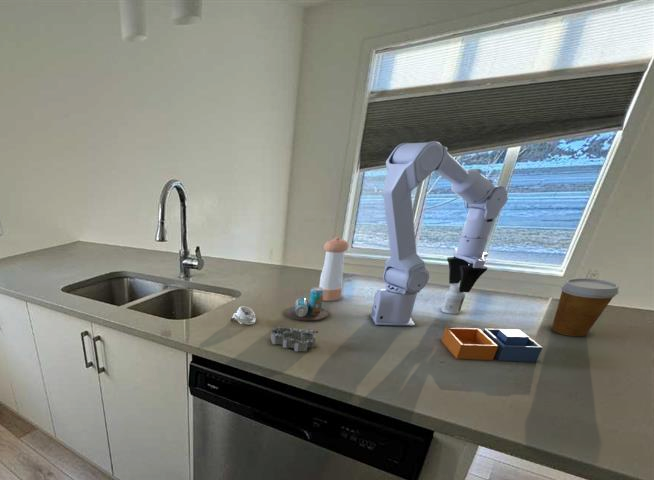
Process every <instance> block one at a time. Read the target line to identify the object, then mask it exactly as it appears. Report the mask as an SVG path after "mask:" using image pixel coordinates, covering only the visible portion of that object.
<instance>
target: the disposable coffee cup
mask: <svg viewBox="0 0 654 480" xmlns="http://www.w3.org/2000/svg"><path fill="white" fill-rule="evenodd" d="M619 287H620V286H619V284H618V283H616V282H614V281H613V282H612V281H608V280H605V279H598V278H587V277H586V278H585V277H576V278H575V277H573V278H568V279H567V280H566V281H565V282H564V283H563V284H561V286H560V288H561V293H560V297H559V301H558V303H557V308H556V311H555V315H554V319H553V322H552V326H551V331H553V332H555V333H557V334H559V335H564V336H568V337H569V336H570V337H584V336H587V335H588V333H590V330H591V329H592V328H593V326H594V324H595V323H596V322H597V321H598V319H599V318H600V317H601V315H602V314H603V312H604V311H605V309H606V308H607V306H608V305H609V304H610V303H611V301H612V300H613V298H614V297H616V296H617V295H619V294H620V291H619Z"/></svg>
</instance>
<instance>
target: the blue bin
mask: <svg viewBox="0 0 654 480" xmlns="http://www.w3.org/2000/svg"><path fill="white" fill-rule="evenodd" d="M499 330H520V331H522V330H521V329H519V328H518V329H517V328H515V329H514V328H483V330H482V332H483V333H485V334H486V335H487V336H488V337H489V338H490V339H491V340H492V341H493V342H494V343H495V344H497V345H498V348H497V351H496V353H495V356H494V358H495V359H496V360H497V361H506V362H507V361H509V362H531V363H532V362H533V363H536V362H537V361H538V359H539V357H540V354H541V352H542V350H543V346H541V345H540V344H539V343H538V342H536V341H535V340H534V339H533V338H531V337H530V336H528V337H529V339H528V341H527V343H526V346H508V345H504V344H503V343H502V342H501V341H500V340H499V339H498V338H496V337H497V334H498V332H499ZM523 333H524V334H525V335H527V334H526V333H525V332H523Z"/></svg>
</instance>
